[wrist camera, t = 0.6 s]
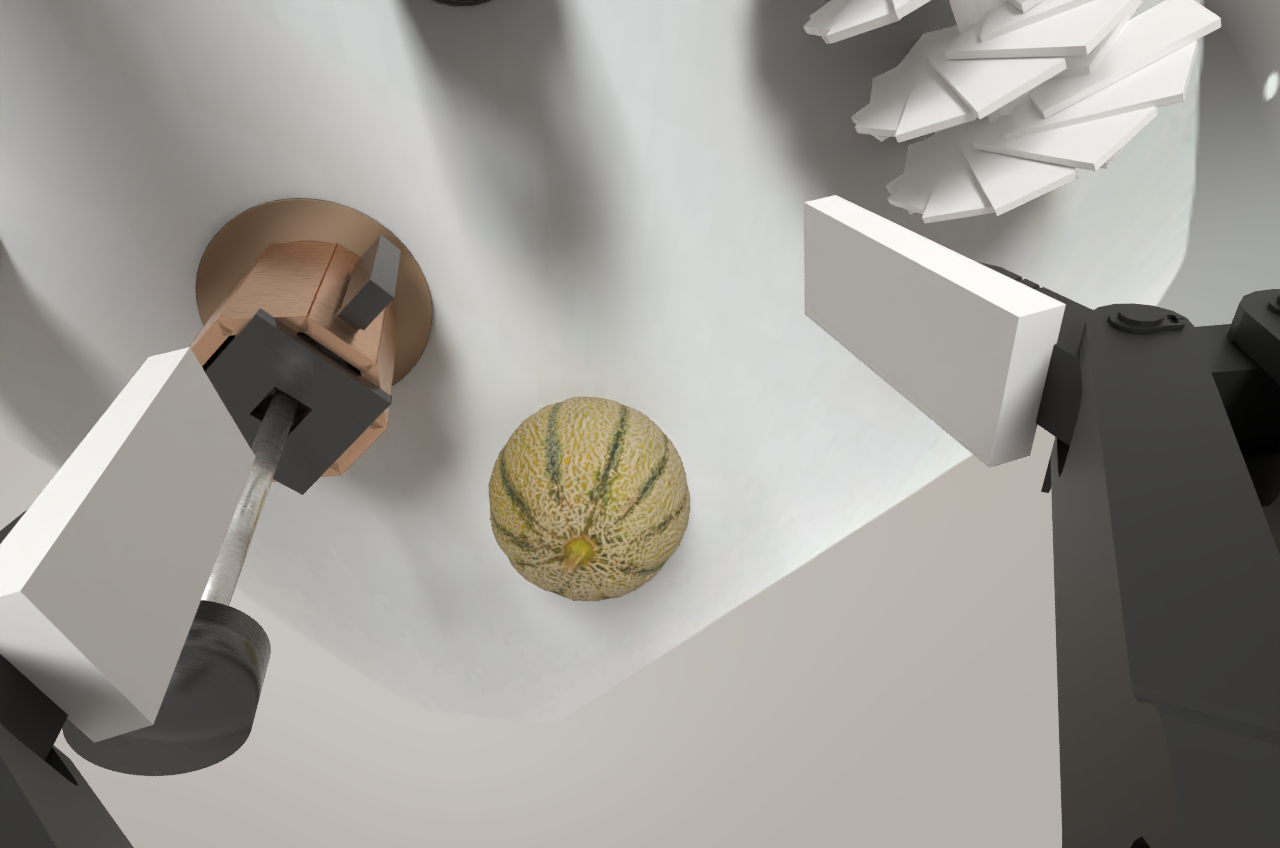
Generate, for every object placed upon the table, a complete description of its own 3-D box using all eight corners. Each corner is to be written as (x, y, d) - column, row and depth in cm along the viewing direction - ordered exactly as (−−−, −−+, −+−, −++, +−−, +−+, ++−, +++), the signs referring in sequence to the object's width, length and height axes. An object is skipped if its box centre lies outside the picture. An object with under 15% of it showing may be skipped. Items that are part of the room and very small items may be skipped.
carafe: (208, 314, 42) (128, 423, 31) (328, 174, 40) (288, 238, 29) (337, 396, 47) (308, 515, 36) (451, 277, 45) (456, 364, 34)
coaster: (150, 313, 42) (146, 316, 41) (289, 147, 39) (287, 148, 38) (347, 433, 49) (346, 437, 49) (474, 301, 46) (475, 304, 46)
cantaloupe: (663, 494, 60) (721, 619, 48) (500, 530, 57) (518, 672, 45) (654, 348, 52) (722, 453, 40) (464, 382, 49) (474, 505, 37)
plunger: (203, 385, 34) (-26, 758, 17) (275, 304, 33) (106, 618, 16) (309, 446, 38) (204, 811, 20) (378, 374, 36) (327, 697, 19)
